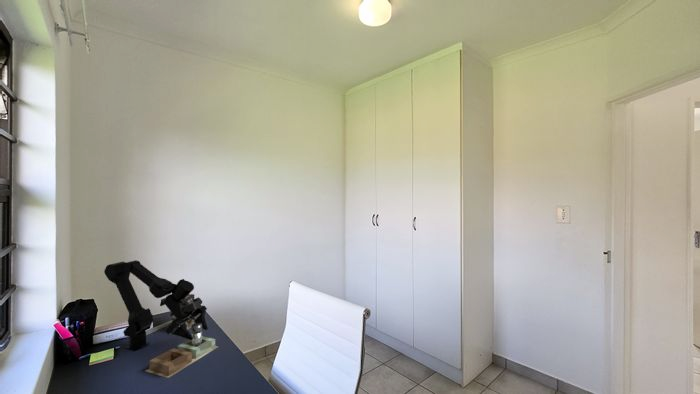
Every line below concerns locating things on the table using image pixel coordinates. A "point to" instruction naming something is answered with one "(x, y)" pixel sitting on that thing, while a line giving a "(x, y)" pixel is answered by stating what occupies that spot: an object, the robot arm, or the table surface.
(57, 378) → the table surface
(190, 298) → the coffee box
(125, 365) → the table surface
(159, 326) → the long grey bar
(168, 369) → the wooden desk organizer
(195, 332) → the shiny grey rounded piece
